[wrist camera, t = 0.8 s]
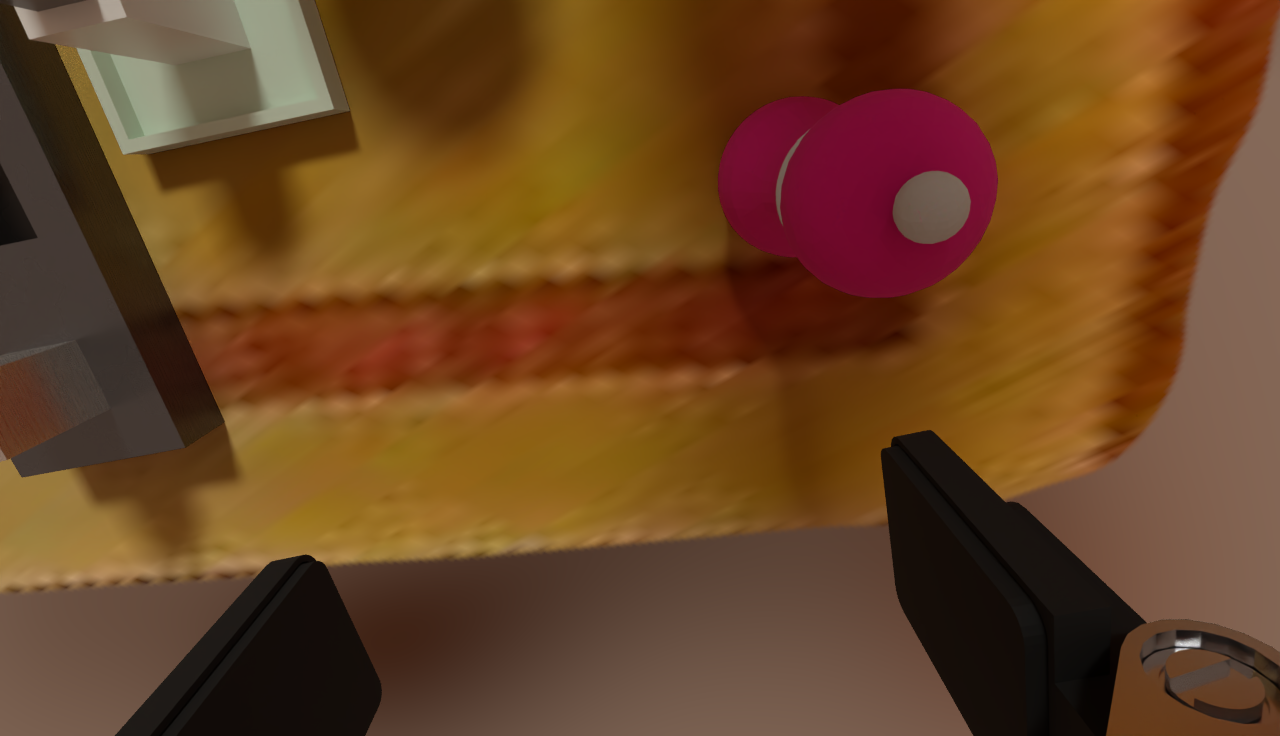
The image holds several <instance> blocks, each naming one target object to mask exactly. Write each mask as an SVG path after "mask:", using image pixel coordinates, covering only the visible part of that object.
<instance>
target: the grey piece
mask: <svg viewBox="0 0 1280 736" xmlns="http://www.w3.org/2000/svg"><path fill="white" fill-rule="evenodd" d="M222 423H224V420H223V418H222V416H221V414H220V411H219V409H218V407H217V405H216V403H215V400H214V398H213V396H212V394H211V391H210V389H209V387H208V385H207V383H206V380H205V378H204V376H203V374H202V371H201V369H200V367H199V365H198V363H197V360H196V358H195V356H194V354H193V351H192V349H191V347H190V345H189V343H188V340H187V338H186V336H185V334H184V331H183V329H182V327H181V325H180V323H179V320H178V318H177V316H176V314H175V311H174V309H173V307H172V305H171V303H170V300H169V298H168V296H167V294H166V292H165V289H164V287H163V285H162V283H161V280H160V278H159V276H158V274H157V272H156V269H155V267H154V265H153V263H152V260H151V258H150V256H149V254H148V252H147V249H146V247H145V245H144V243H143V240H142V238H141V236H140V234H139V232H138V229H137V227H136V225H135V223H134V220H133V218H132V216H131V214H130V212H129V209H128V207H127V205H126V203H125V200H124V198H123V196H122V194H121V192H120V189H119V187H118V185H117V183H116V180H115V178H114V176H113V174H112V172H111V169H110V167H109V165H108V163H107V161H106V158H105V156H104V154H103V152H102V149H101V147H100V145H99V143H98V141H97V138H96V136H95V134H94V132H93V129H92V127H91V125H90V123H89V121H88V118H87V116H86V114H85V112H84V109H83V107H82V105H81V103H80V101H79V98H78V96H77V94H76V92H75V89H74V87H73V85H72V83H71V81H70V78H69V76H68V74H67V72H66V69H65V67H64V65H63V63H62V61H61V58H60V56H59V54H58V52H57V49H56V47H55V45H54V44H52V43H46V42H41V41H35V40H29V38H28V36H27V34H26V31H25V29H24V27H23V25H22V23H21V21H20V18H19V16H18V14H17V12H16V10H15V8H14V6H11V5H6V4H2V3H0V461H4V460H8V459H10V458H11V460H12V462H13V463H14V465H15V467H16V469H17V470H18V472H19V474H20V475H21V477H27V476H33V475H38V474H44V473H49V472H55V471H60V470H66V469H71V468H77V467H82V466H88V465H93V464H99V463H104V462H110V461H115V460H121V459H126V458H132V457H137V456H143V455H148V454H154V453H159V452H165V451H170V450H176V449H181V448H186V447H187V446H189V445H190V444H192V443H193V442H195V441H196V440H198V439H199V438H201V437H202V436H204V435H205V434H207V433H208V432H210V431H211V430H213V429H214V428H216V427H217V426H219V425H220V424H222Z"/></svg>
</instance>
